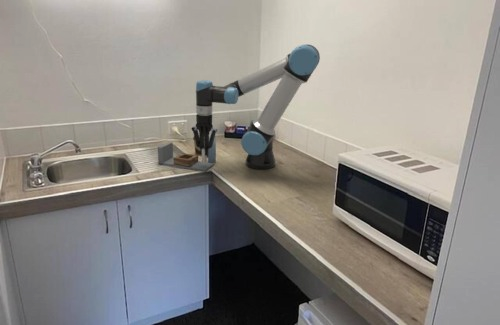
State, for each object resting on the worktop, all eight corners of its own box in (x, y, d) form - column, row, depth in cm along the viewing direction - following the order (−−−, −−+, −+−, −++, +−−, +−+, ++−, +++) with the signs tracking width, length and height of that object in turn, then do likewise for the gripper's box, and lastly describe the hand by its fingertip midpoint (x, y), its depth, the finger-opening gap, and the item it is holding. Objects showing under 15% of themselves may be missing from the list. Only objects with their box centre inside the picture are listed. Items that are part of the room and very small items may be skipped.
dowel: (210, 160, 198) (210, 134, 193) (217, 161, 197) (217, 135, 192) (206, 162, 194) (206, 136, 190) (213, 164, 193) (213, 137, 188)
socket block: (182, 158, 196) (182, 153, 195) (198, 160, 193) (198, 155, 192) (173, 163, 188) (173, 158, 187) (189, 166, 185) (189, 160, 184)
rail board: (169, 158, 199) (168, 141, 196) (213, 165, 191) (213, 148, 188) (158, 164, 190) (157, 147, 187) (204, 171, 182) (204, 154, 179)
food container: (217, 155, 207) (217, 137, 204) (211, 157, 202) (210, 139, 199) (200, 150, 213) (200, 133, 210) (193, 153, 208) (192, 136, 205)
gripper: (188, 114, 177) (188, 161, 185) (213, 117, 173) (213, 165, 181) (195, 111, 184) (196, 157, 192) (220, 114, 180) (219, 160, 187)
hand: (204, 161), depth 186 cm, fingers closed
